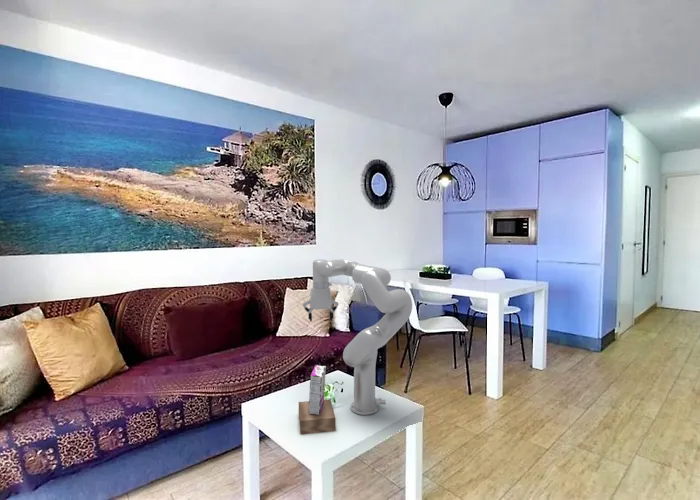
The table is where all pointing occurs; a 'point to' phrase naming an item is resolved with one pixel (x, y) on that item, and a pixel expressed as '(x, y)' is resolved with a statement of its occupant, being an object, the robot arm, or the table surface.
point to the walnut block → (316, 418)
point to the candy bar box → (317, 390)
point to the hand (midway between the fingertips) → (320, 320)
